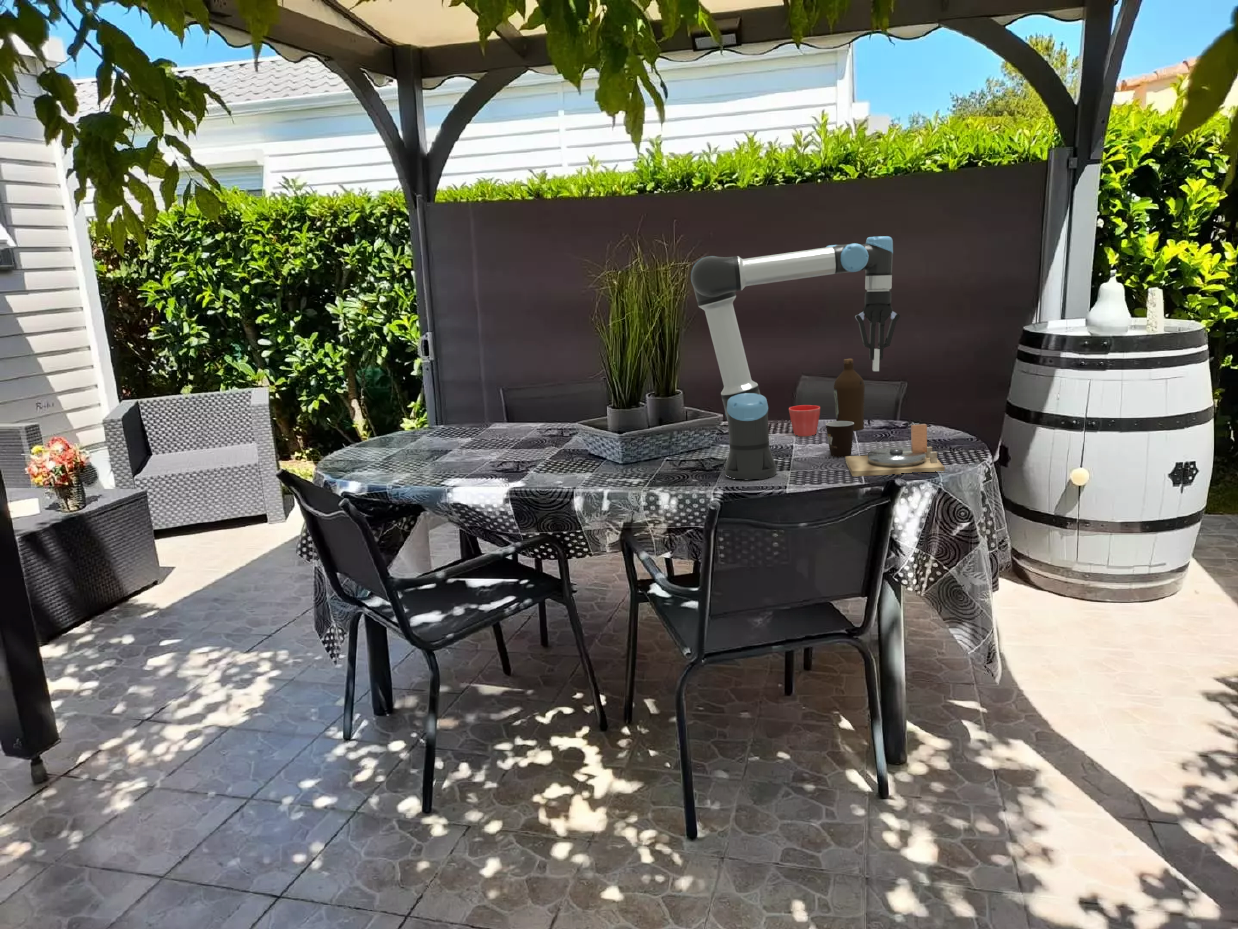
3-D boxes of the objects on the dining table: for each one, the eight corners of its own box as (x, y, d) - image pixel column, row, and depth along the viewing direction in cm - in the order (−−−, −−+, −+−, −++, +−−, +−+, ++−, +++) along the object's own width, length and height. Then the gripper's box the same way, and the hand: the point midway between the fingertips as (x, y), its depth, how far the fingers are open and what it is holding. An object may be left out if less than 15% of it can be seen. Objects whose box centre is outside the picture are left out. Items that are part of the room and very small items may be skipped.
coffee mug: (855, 457, 269) (855, 425, 267) (827, 458, 271) (826, 426, 269) (853, 449, 280) (852, 418, 278) (826, 450, 282) (825, 420, 280)
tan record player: (852, 476, 247) (851, 460, 246) (845, 461, 265) (845, 446, 264) (944, 472, 243) (944, 456, 242) (931, 457, 261) (931, 442, 260)
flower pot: (824, 436, 304) (823, 408, 302) (792, 438, 305) (791, 411, 303) (817, 430, 315) (816, 403, 313) (787, 432, 315) (786, 406, 313)
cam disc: (874, 468, 247) (873, 433, 244) (862, 456, 262) (861, 423, 260) (934, 464, 245) (934, 429, 243) (918, 452, 261) (918, 419, 259)
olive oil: (866, 425, 316) (865, 356, 310) (864, 431, 306) (862, 360, 301) (836, 426, 320) (834, 357, 314) (833, 431, 310) (831, 361, 304)
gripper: (898, 289, 260) (895, 369, 265) (853, 291, 261) (851, 369, 266) (903, 290, 253) (900, 371, 257) (857, 291, 254) (855, 372, 259)
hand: (875, 370), depth 262 cm, fingers closed
